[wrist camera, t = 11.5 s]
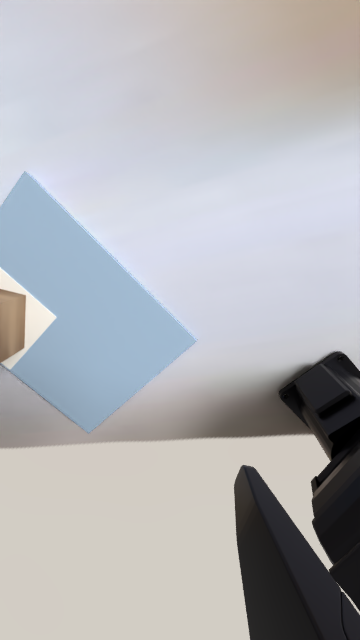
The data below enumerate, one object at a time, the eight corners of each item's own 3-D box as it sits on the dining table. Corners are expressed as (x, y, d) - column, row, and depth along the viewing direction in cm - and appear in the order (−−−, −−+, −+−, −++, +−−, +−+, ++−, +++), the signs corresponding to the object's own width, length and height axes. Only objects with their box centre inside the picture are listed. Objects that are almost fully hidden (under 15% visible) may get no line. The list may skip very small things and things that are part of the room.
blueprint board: (196, 339, 21) (196, 341, 21) (90, 430, 25) (88, 434, 24) (28, 172, 18) (23, 170, 17) (-64, 308, 22) (-70, 309, 21)
